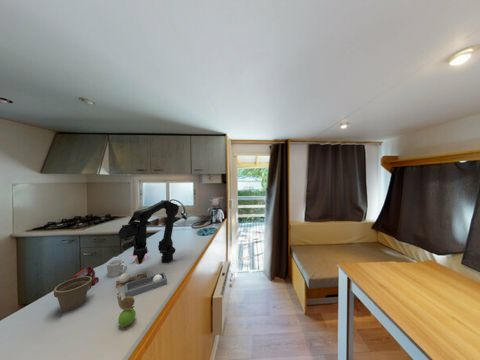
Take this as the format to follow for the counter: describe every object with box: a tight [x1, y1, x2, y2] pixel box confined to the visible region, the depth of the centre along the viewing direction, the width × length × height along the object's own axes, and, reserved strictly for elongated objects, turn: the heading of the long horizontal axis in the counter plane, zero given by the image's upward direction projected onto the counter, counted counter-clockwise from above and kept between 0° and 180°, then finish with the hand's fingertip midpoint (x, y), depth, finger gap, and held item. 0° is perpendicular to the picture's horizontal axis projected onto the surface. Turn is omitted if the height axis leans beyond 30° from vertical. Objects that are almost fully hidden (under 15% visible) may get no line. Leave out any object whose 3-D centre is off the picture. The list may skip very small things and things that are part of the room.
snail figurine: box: [116, 291, 137, 327], centre depth 61 cm, size 5×6×12 cm
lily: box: [128, 250, 151, 265], centre depth 112 cm, size 12×12×10 cm
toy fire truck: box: [72, 265, 100, 291], centre depth 81 cm, size 7×12×10 cm, turn 9°
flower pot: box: [53, 276, 92, 313], centre depth 69 cm, size 12×11×10 cm
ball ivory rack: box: [118, 272, 130, 283], centre depth 85 cm, size 4×4×4 cm
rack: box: [115, 272, 148, 289], centre depth 87 cm, size 14×7×2 cm, turn 127°
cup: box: [106, 258, 128, 278], centre depth 93 cm, size 11×8×8 cm
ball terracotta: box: [134, 257, 145, 265], centre depth 89 cm, size 4×4×4 cm
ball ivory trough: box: [152, 273, 163, 283], centre depth 84 cm, size 4×4×4 cm
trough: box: [124, 272, 168, 298], centre depth 81 cm, size 18×8×4 cm, turn 127°
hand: (139, 261), depth 89 cm, fingers closed on ball terracotta, 4 cm apart
